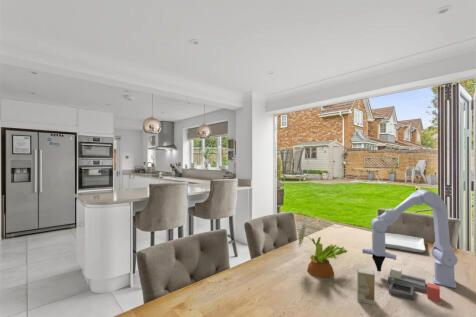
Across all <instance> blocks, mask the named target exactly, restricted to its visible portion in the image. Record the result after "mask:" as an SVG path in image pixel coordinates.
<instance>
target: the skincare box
mask: <svg viewBox="0 0 476 317" xmlns="http://www.w3.org/2000/svg"><path fill="white" fill-rule="evenodd" d="M356 270H357V272H356V273H357V276H356V278H357V279H356V280H357V281H356V282H357V283H356V299H357V302H358V303H359V302H360V303H365V304H368V305H369V304H370V305H375V285H376V284H375V281H376V280H375V271H374V270H373V269H372V270H371V269H367V268H359V267H358V268H357V269H356Z"/></svg>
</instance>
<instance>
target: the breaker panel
mask: <svg viewBox="0 0 476 317" xmlns="http://www.w3.org/2000/svg"><path fill="white" fill-rule="evenodd" d="M391 281H392V282H396V283H400V284H404V285H408V286H412V287H414V291H417V292H422V293H425V292H426V279H425V278H422V277H416V276H413V275H408V274H404V273H402V278H401V279H399V278H395V277H391V270H390V271H389V275H388V276H387V284H389V285H390V284H391Z"/></svg>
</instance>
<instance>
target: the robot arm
mask: <svg viewBox="0 0 476 317" xmlns="http://www.w3.org/2000/svg"><path fill="white" fill-rule="evenodd" d="M424 204H425V205H427V207H429V208H431V209H432V216H433V217H432V218H433V229H434V230H433V231H434V240H435V241H434V242H433V247H432V249H431V254H432V256H433V257H434V259H433V262H434V263H433V265H434V266H433V267H434V274H433V284H435V285H439V286H440V285H441V286H444V287H448V288H452V289H457V284H456V279H455V277H456V276H455V274H456V273H455V266H456V265H457V263H458V257H457V255H456V254H455V249H454V248H453V246H452V245H451V240H450V229H449V228H450V227H449V218H448V217H449V216H448V205H447V204H446V203H445V201H444V200H443V199H442V198H441V196H440V194H438V193H436V192H435V191H431V190H426V189H424V188H419V189H417V190H416V191H415V192H412V193H410V195H409V196H408V197H407V198H405V199H404V200H403V201H402V202H401V203H399V204H398V205H397V206H395V207H394V208H388V209H387V208H386V209H385V210H384V212H383V213H382V214H380V215H377V216H376V217H374V218H373V219H372V220H371V222H370V223H369V224H370V227H371V231H372V232H371V244H372V246H371V248H362V249H361V250H362V254H367V255H372V256H371V259H372V261H373V262H374V264H375V266H376V271H377V272H381V271H382V267H383V263H384V261H385V259H386V258H387V259H391V260H394V261H396V260H397V254H395V253H390V252H387V251H386V247H385V233H386V231H387V229H388V227H389V226H391V225H392V224H393V223H395V222H396V221H397V220H399V219H400V215H401V214H403V213H404V212H405V211H408V209H410V208H411V207H413V206H418V205H419V206H421V205H422V206H423V205H424Z"/></svg>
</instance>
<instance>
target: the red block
mask: <svg viewBox="0 0 476 317" xmlns="http://www.w3.org/2000/svg"><path fill="white" fill-rule="evenodd" d="M426 291H427V299H428V300H431V301H436V302H441V289H440V285H439V284H435V283H429V282H427V290H426Z"/></svg>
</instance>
